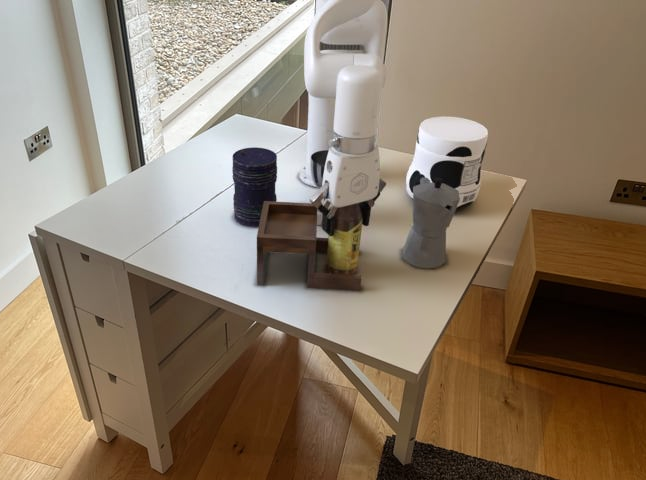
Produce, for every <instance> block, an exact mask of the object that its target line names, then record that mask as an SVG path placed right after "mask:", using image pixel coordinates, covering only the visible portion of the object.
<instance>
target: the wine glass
mask: <svg viewBox="0 0 646 480" xmlns="http://www.w3.org/2000/svg"><path fill="white" fill-rule="evenodd" d="M328 152H329V150H323V151H318V152H315V153H313V154H312V155H311V165H310V169H311V176H312V180H313V183H314V184H315V186H316V187H315V188H317V189H318V190H319V189H320V188H321V187H322V182H323V174H324V168H325V163H326V159H327V155H328ZM325 199H326V198H323V202H324V201H325ZM322 216H323V214H322V213H321V212H320V211H319V210H317V226H319V227H322Z"/></svg>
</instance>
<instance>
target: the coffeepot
mask: <svg viewBox="0 0 646 480" xmlns="http://www.w3.org/2000/svg"><path fill="white" fill-rule="evenodd" d="M442 182H443V179H441V178H435V179H434V183H430V180H429V179H428V178H425V176H424V175H423V174H419V175H418V176H417V177H416V178H415V179H414V187H413V199H412V225H411V227H410V229H409V232H408V235H407V238H406V240H405V242H404V245H403V248H402V259H403V260H404V261H405V262H407V263H408V264H409V265H411V266H412V267H415V268H419V269H425V270H426V269H428V270H429V269H437V268H439V267H441V266H442V265H444V264H445V263H446V255H447V253H446V251H447V229H448V228H450V225H451V222H452V220H453V219H454V215H455V213H456V211H457V210H456V208H457V205H458V203H459V200H460V197H459V192H458V190H456V189H454V188H452V187H450V186H448V185H446V184H443V183H442Z"/></svg>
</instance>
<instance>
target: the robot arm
mask: <svg viewBox="0 0 646 480" xmlns="http://www.w3.org/2000/svg"><path fill="white" fill-rule="evenodd" d="M314 12H315V15H314V17H313V18H312V19H311V21H310V23H309V25H308V28H307V30H306V33H305V38H304V45H303V62H304V63H303V74H304V75H303V77H304V85H305V89H306V91H307V94H308V96H307V97H308V107H307V108H308V110H307V111H308V112H307V132H306V133H307V134H306V153H305V154H306V156H305V166H303V167H302V168H301V169H300V170H299V175H298V176H299V180H301V182H303V183H304V184H305V185H308V186H309V187H314V188H317V187H316V186H315V184H314V183H313V180H312V176H311V169H310V165H311V155H312V154H313V153H315V152H318V151H323V150H329V152H328V155H327V159H326V163H325V168H324V174H323V182H322V187H321V188H320V189H318V190H317V191H316V192H314V194H313V195H311V197H310V198H309V203H312V204H313V205H314V206H315V208H316V209H317V211H320V212H321V213H322V214H323V216H322V226H321V229H322V231H324V233H326V234H327V235H328V237H329V236H333V235H334V230H335V217H333V215H334V213H335V211H336V210H337V208H339V207H345V206H348V205H352V204H356V203H359V206H360V210H361V213H362V217H363V220H362V226H364V227H368V226H369V225H370V219H371V212H372V208H373V207H374V206H375V204H376V203H375V202H377V201H376V200H378V198H379V197H380V196H381V193H382V192H383V191H384V189H385V187H386V186H387V182H386V181H385V180H383V179H382V178H381V177H380V176H381V159H380V158H381V157H380V149H379V146H378V145H376V142H377V133H378V126H379V117H380V109H381V102H382V101H381V100H382V93H383V88H384V87H385V83H386V77H387V68H386V64H385V63H384V61H385V60H384V59H385V51H386V44H387V34H388V11H387V6H386V4H385V3H384V1H382V0H315V11H314ZM321 43H322V44H325V45H335V46H340V45H341V46H356V45H357V46H362V47H363V48H364V49H323V50H321V49H320V48H321V46H320V44H321ZM324 198H326V199H325V201H324ZM322 201H323V203H322Z"/></svg>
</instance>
